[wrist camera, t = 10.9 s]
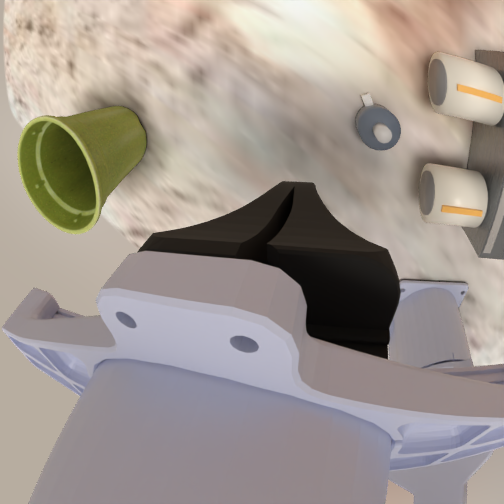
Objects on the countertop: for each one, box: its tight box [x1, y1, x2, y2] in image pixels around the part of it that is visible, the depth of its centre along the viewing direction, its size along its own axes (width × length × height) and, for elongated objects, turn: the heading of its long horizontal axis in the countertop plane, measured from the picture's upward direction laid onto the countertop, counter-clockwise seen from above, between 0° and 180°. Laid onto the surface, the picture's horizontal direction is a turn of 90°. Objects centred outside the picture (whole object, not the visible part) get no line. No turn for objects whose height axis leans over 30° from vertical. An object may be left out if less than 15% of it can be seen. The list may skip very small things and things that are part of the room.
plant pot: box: [18, 106, 146, 234], centre depth 19 cm, size 9×9×9 cm
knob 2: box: [419, 163, 488, 228], centre depth 15 cm, size 4×10×4 cm, turn 96°
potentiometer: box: [355, 93, 401, 150], centre depth 16 cm, size 4×3×4 cm
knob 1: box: [428, 52, 504, 126], centre depth 10 cm, size 4×11×4 cm, turn 97°
